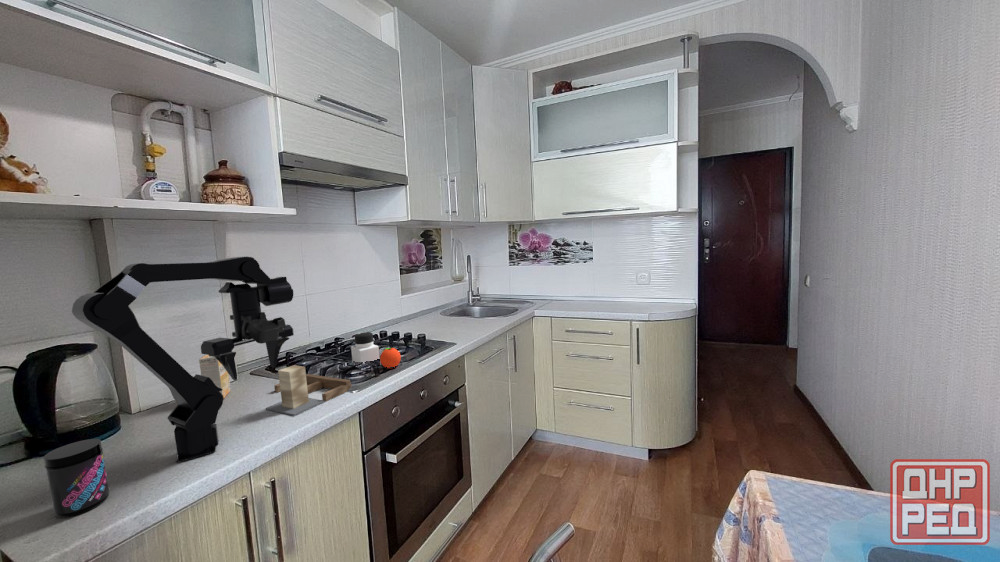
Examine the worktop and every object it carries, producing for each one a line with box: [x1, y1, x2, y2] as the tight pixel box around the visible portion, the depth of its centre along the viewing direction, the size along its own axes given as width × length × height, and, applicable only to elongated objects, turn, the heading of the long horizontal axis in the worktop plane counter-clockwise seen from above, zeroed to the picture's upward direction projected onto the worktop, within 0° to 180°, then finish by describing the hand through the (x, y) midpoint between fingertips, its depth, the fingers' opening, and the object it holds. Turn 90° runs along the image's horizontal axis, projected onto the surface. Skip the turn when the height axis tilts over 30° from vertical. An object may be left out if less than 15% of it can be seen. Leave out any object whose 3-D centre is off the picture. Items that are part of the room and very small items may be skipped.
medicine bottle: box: [350, 331, 381, 362], centre depth 138 cm, size 7×7×12 cm
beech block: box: [277, 364, 310, 409], centre depth 106 cm, size 5×5×10 cm
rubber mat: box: [265, 397, 326, 417], centre depth 106 cm, size 9×12×1 cm
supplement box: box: [198, 354, 231, 399], centre depth 116 cm, size 8×5×13 cm, turn 22°
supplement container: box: [43, 438, 111, 518], centre depth 67 cm, size 7×7×10 cm
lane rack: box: [274, 373, 353, 402], centre depth 117 cm, size 9×22×3 cm, turn 63°
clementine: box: [380, 347, 402, 369], centre depth 135 cm, size 8×7×7 cm
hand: (255, 373), depth 94 cm, fingers open, 9 cm apart
